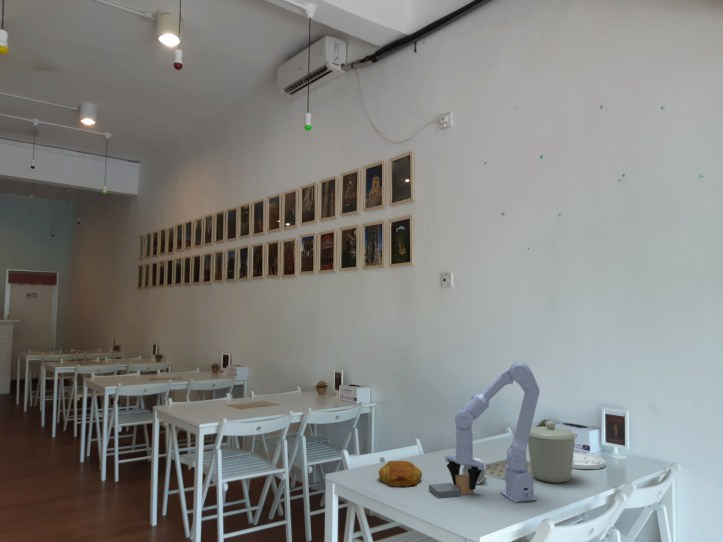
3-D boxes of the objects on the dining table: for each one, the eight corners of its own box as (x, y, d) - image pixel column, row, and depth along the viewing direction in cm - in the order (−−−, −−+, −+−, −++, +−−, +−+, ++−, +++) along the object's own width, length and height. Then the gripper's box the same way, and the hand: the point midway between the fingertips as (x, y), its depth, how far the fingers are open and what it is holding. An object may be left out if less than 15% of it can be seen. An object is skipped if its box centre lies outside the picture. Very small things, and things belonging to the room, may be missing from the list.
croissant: (381, 481, 202) (378, 459, 203) (422, 477, 201) (419, 454, 202) (378, 492, 188) (375, 468, 189) (422, 487, 187) (419, 464, 188)
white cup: (491, 473, 200) (488, 479, 191) (471, 481, 202) (468, 487, 193) (481, 452, 203) (479, 457, 193) (462, 460, 204) (458, 465, 195)
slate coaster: (460, 496, 179) (460, 490, 179) (437, 498, 177) (438, 491, 177) (450, 488, 187) (450, 482, 187) (428, 490, 185) (428, 484, 185)
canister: (582, 477, 202) (581, 420, 204) (570, 489, 187) (569, 427, 189) (534, 469, 212) (533, 414, 214) (519, 480, 198) (518, 421, 199)
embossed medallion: (542, 463, 224) (542, 455, 225) (570, 455, 236) (569, 448, 236) (587, 474, 208) (587, 466, 209) (614, 465, 220) (614, 458, 220)
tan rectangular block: (473, 493, 183) (473, 477, 183) (461, 494, 182) (460, 478, 182) (467, 489, 187) (467, 474, 187) (455, 489, 186) (455, 474, 186)
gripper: (488, 448, 183) (489, 489, 182) (453, 440, 193) (453, 480, 192) (477, 451, 178) (477, 494, 177) (441, 444, 189) (441, 484, 187)
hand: (464, 487), depth 184 cm, fingers closed on tan rectangular block, 6 cm apart
